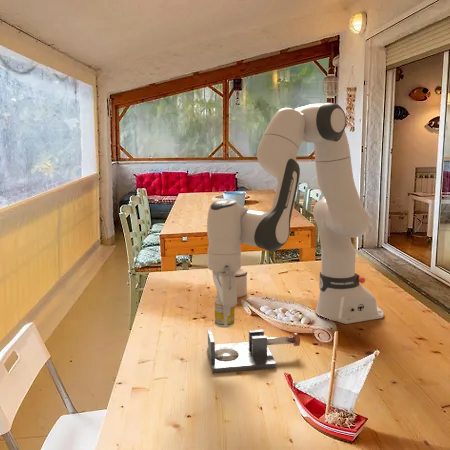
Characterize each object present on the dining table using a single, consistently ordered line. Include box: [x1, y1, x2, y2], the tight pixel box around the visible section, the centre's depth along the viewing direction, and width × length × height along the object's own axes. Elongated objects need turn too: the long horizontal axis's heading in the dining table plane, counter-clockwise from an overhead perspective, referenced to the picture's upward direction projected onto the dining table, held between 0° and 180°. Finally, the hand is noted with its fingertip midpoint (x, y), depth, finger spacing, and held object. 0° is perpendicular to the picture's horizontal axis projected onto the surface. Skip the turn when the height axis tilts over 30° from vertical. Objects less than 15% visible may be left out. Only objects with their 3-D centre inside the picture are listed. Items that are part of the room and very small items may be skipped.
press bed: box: [206, 329, 277, 375], centre depth 136 cm, size 17×14×8 cm
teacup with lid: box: [235, 267, 248, 299], centre depth 188 cm, size 12×9×12 cm
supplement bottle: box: [214, 289, 235, 328], centre depth 133 cm, size 5×5×10 cm
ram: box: [267, 332, 301, 347], centre depth 137 cm, size 13×4×4 cm, turn 98°
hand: (224, 310), depth 133 cm, fingers closed on supplement bottle, 5 cm apart
